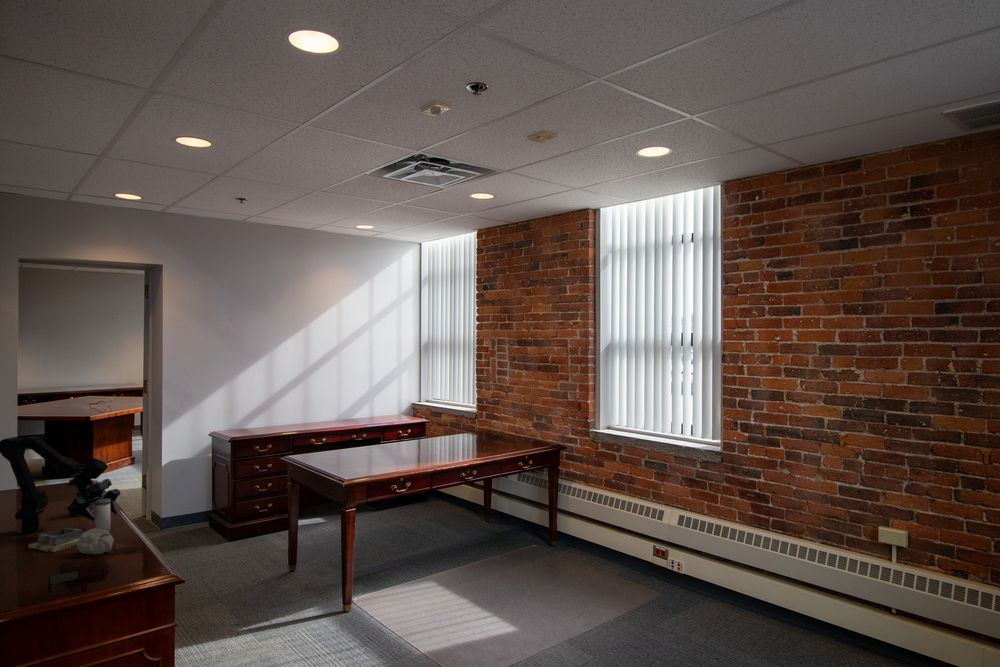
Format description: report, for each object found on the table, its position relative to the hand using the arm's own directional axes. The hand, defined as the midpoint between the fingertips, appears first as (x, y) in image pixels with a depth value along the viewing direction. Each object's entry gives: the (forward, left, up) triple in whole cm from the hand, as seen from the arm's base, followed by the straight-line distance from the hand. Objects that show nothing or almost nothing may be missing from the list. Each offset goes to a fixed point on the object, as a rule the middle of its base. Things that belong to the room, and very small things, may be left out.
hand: (105, 516), depth 238 cm
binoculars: (-37, +15, -7) cm, 41 cm away
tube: (-1, 0, -7) cm, 7 cm away
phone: (+36, -39, -7) cm, 53 cm away
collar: (-3, -15, -7) cm, 17 cm away
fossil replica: (+19, -17, -7) cm, 26 cm away
